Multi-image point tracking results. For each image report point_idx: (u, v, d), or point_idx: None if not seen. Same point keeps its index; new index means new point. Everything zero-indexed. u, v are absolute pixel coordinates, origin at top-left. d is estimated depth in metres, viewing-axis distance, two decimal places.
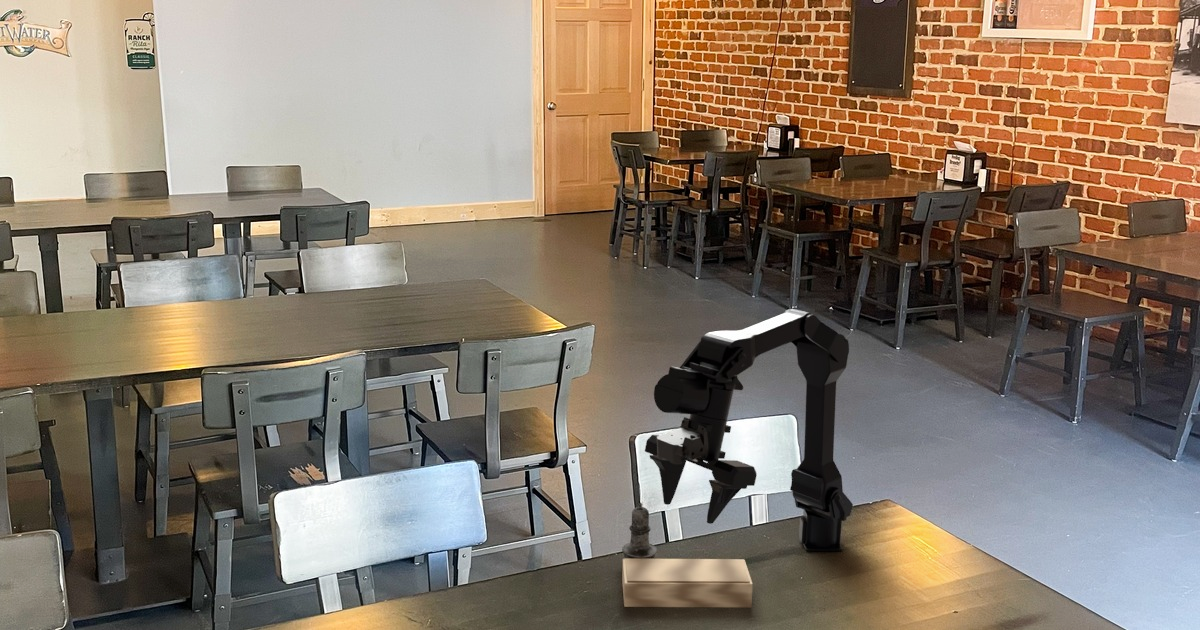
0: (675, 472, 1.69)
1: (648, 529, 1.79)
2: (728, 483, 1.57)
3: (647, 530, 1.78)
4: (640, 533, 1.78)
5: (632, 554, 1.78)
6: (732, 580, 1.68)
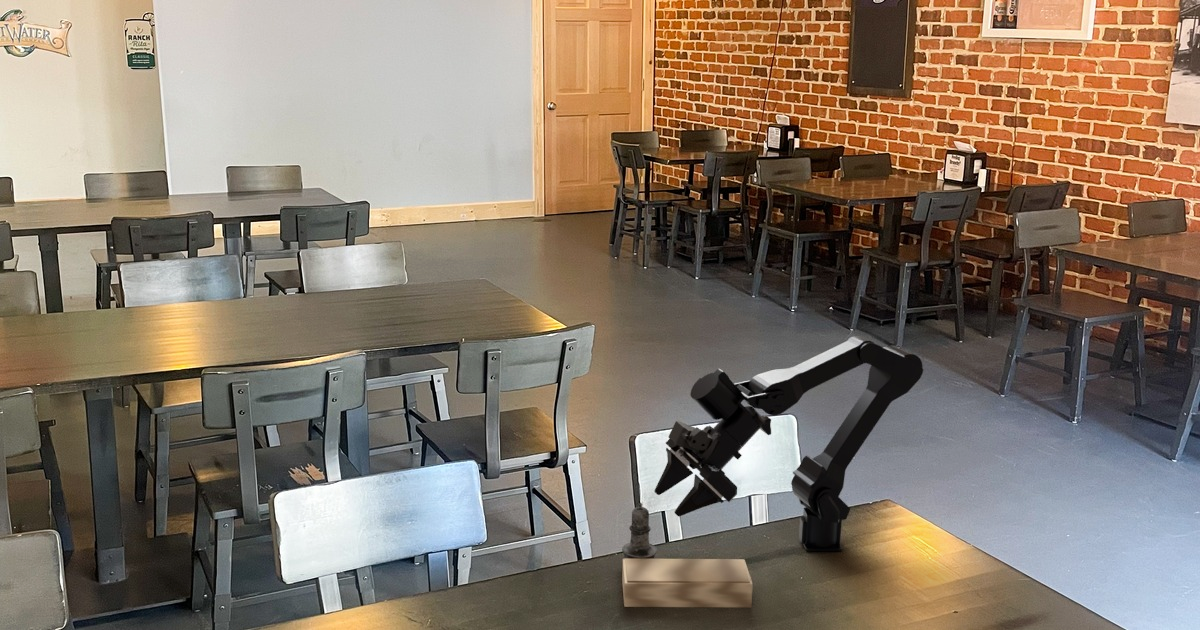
0: (678, 473, 1.85)
1: (648, 529, 1.79)
2: (707, 479, 1.71)
3: (647, 530, 1.78)
4: (640, 533, 1.78)
5: (632, 554, 1.78)
6: (732, 580, 1.68)
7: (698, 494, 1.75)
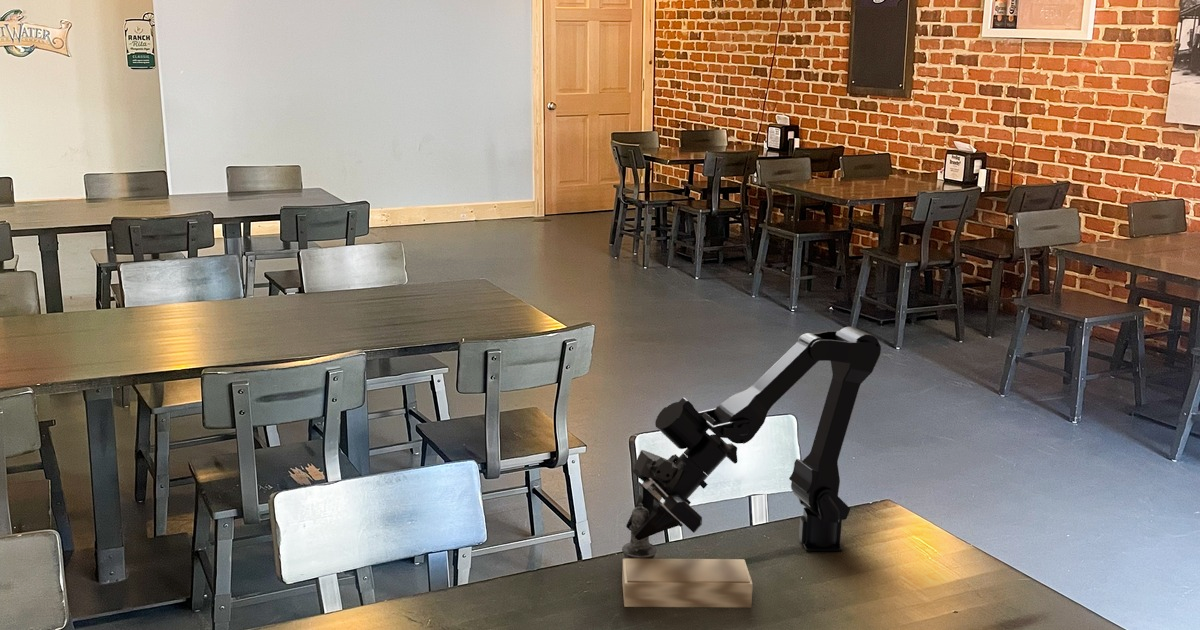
0: (650, 508, 1.82)
1: None
2: (671, 510, 1.70)
3: None
4: None
5: (632, 554, 1.78)
6: (732, 580, 1.68)
7: (657, 518, 1.76)
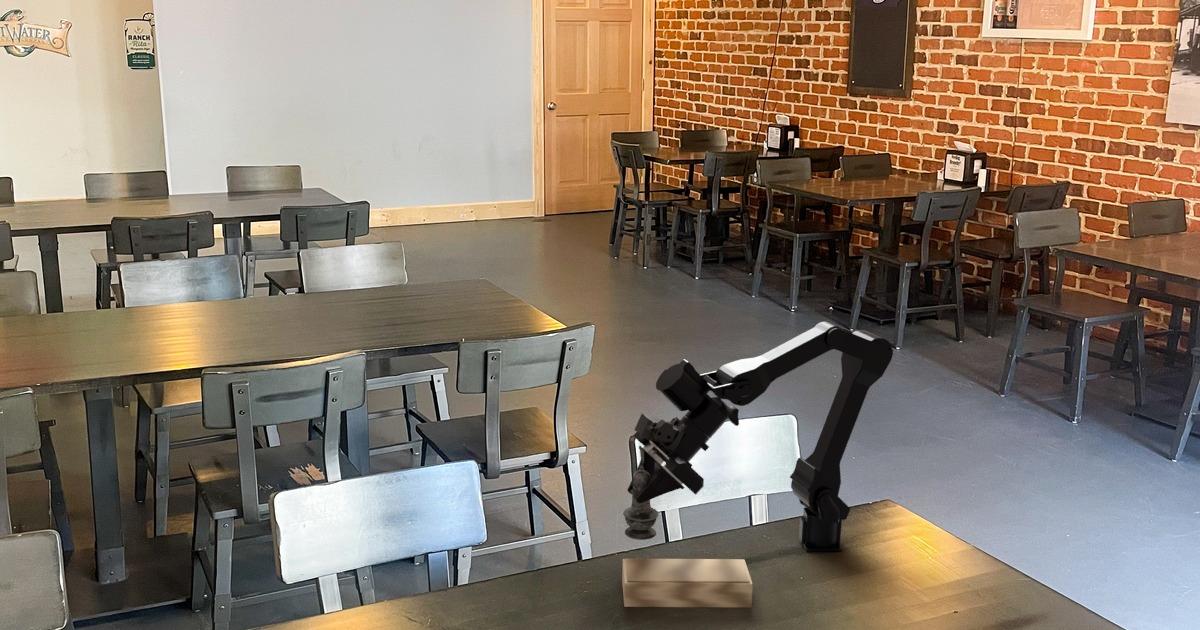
0: (652, 471, 1.80)
1: None
2: (672, 471, 1.69)
3: None
4: None
5: (634, 518, 1.76)
6: (732, 580, 1.68)
7: (659, 481, 1.75)
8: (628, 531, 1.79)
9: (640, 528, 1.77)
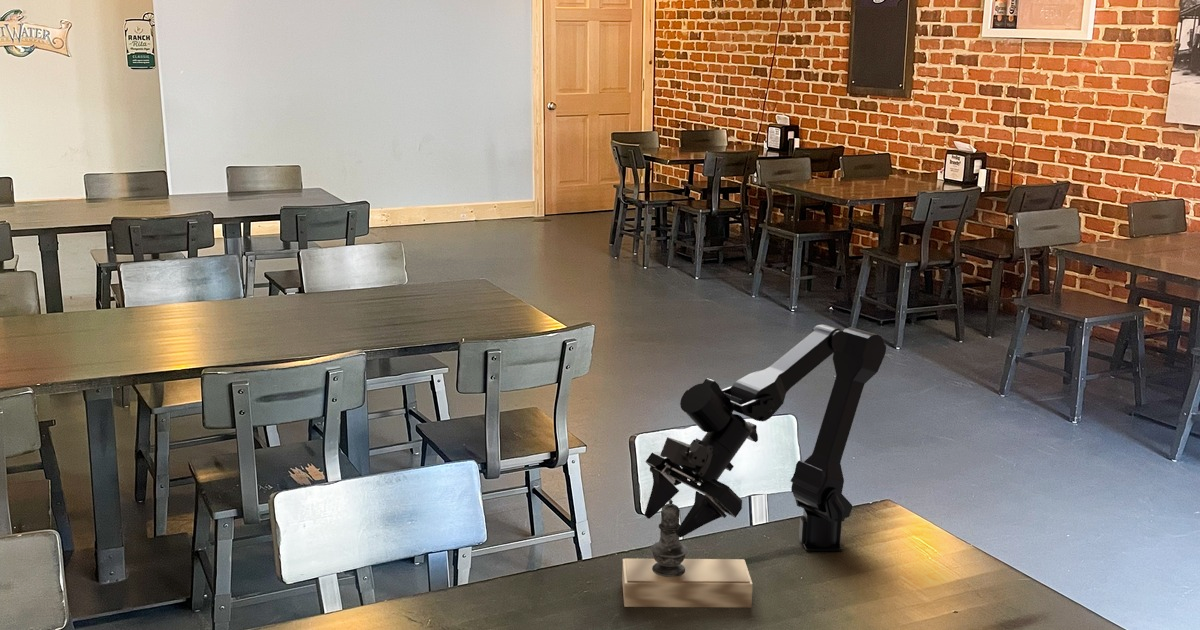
0: (666, 493, 1.74)
1: (679, 526, 1.70)
2: (716, 496, 1.62)
3: None
4: (673, 531, 1.68)
5: (666, 555, 1.68)
6: (732, 580, 1.68)
7: (700, 511, 1.66)
8: (657, 569, 1.71)
9: (672, 565, 1.69)
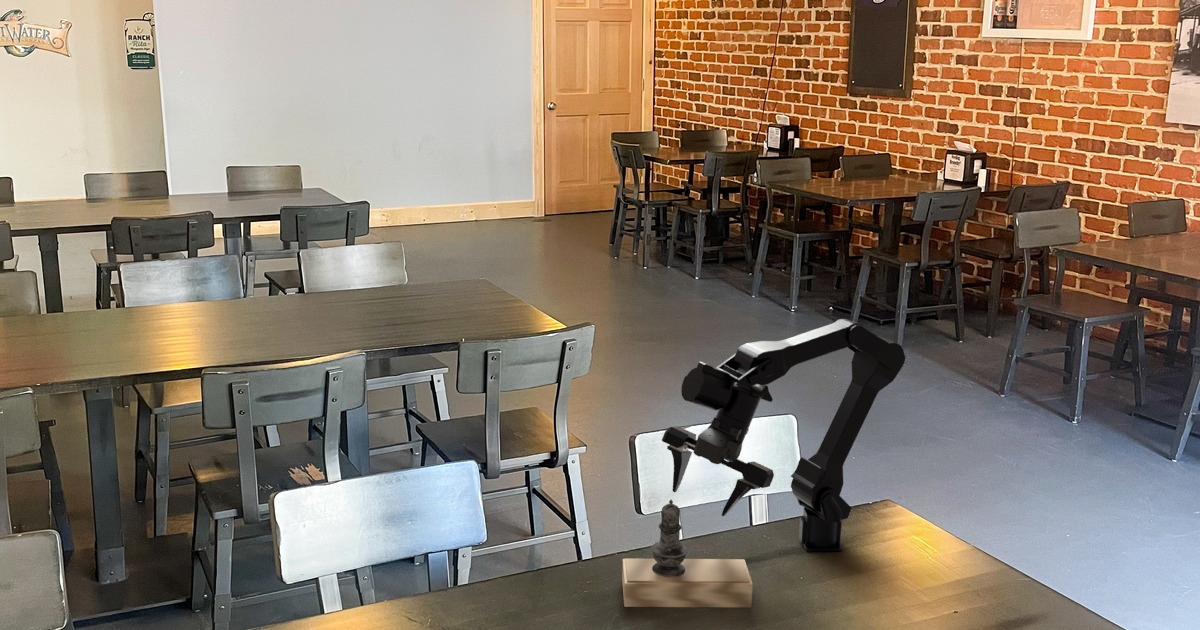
0: (685, 463, 1.81)
1: (679, 526, 1.70)
2: (759, 485, 1.72)
3: (679, 528, 1.69)
4: (673, 531, 1.68)
5: (666, 555, 1.68)
6: (732, 580, 1.68)
7: None
8: (657, 569, 1.71)
9: (673, 565, 1.69)
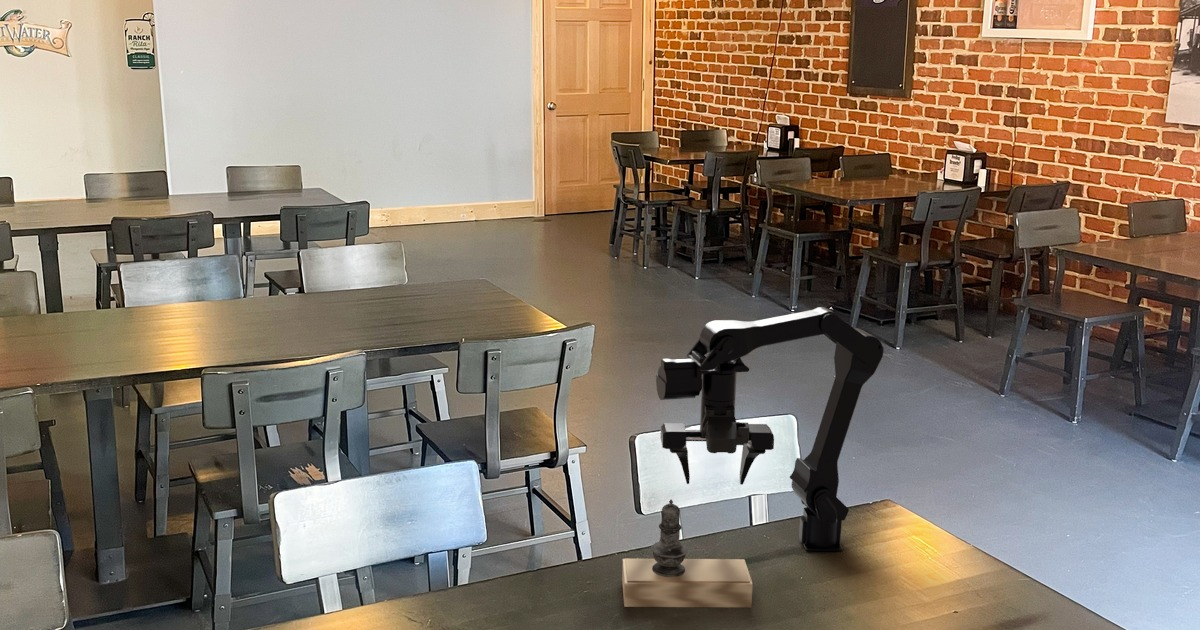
0: None
1: (680, 526, 1.70)
2: (771, 448, 1.80)
3: (679, 528, 1.69)
4: (673, 531, 1.68)
5: (666, 555, 1.68)
6: (732, 580, 1.68)
7: None
8: (657, 569, 1.71)
9: (673, 565, 1.69)
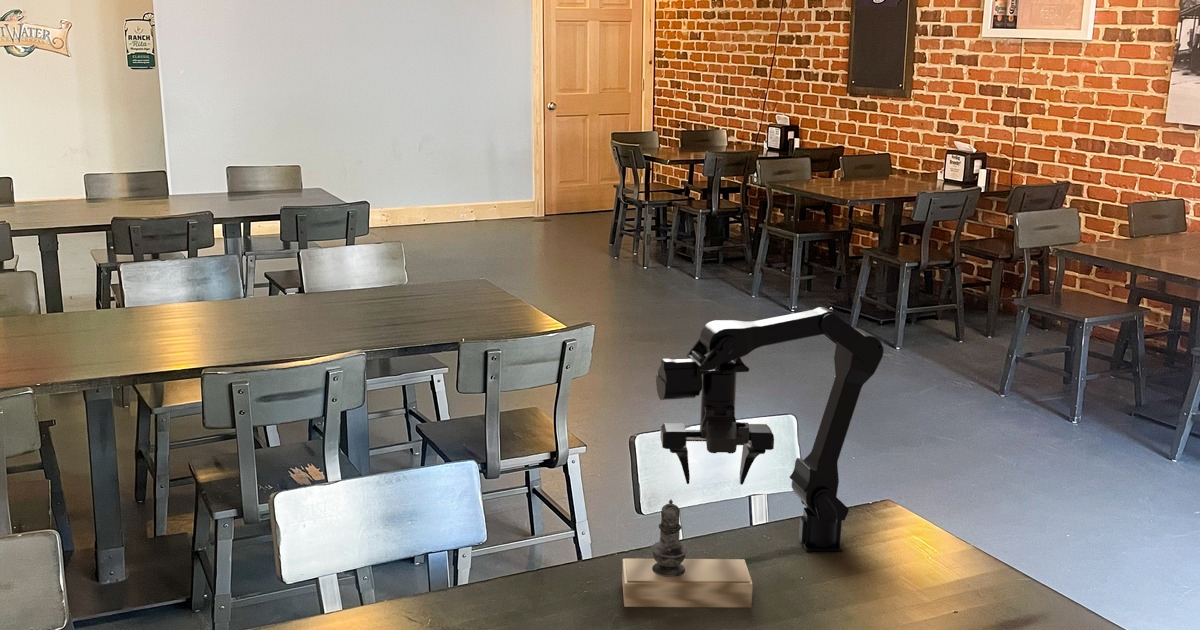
0: None
1: (679, 526, 1.70)
2: (771, 448, 1.80)
3: (679, 527, 1.69)
4: (673, 531, 1.68)
5: (666, 555, 1.68)
6: (732, 580, 1.68)
7: None
8: (657, 569, 1.71)
9: (672, 565, 1.69)
